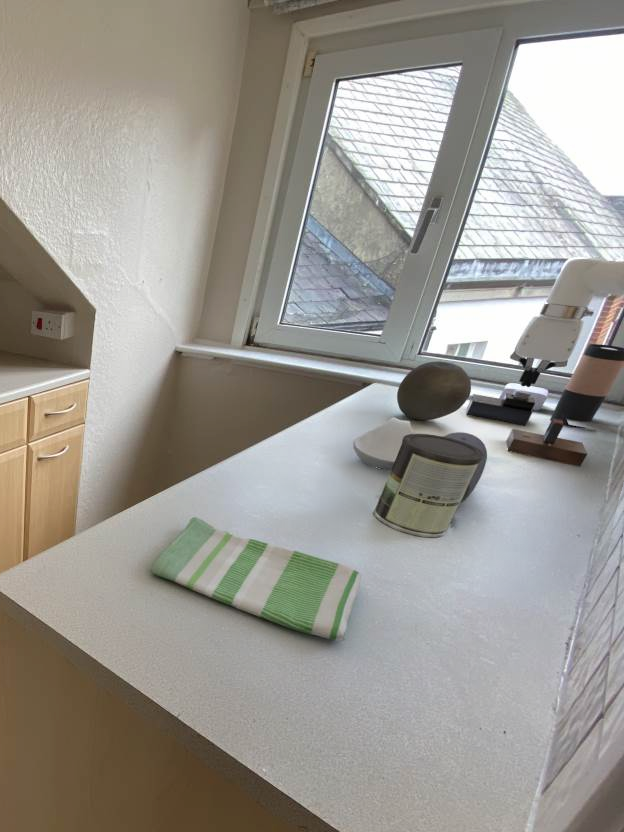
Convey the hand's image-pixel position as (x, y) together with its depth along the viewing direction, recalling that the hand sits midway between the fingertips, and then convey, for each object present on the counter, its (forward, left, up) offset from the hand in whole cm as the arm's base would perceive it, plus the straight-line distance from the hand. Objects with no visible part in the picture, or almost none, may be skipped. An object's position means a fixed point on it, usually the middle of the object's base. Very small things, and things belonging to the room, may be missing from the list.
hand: (525, 385), depth 141 cm
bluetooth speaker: (+12, +70, -10) cm, 72 cm away
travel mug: (-12, -8, -10) cm, 17 cm away
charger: (-3, -24, -9) cm, 26 cm away
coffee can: (+15, +87, -9) cm, 89 cm away
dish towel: (+30, +123, -9) cm, 127 cm away
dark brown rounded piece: (+18, +19, -10) cm, 28 cm away
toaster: (+3, 0, -9) cm, 10 cm away
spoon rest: (+22, +56, -9) cm, 61 cm away
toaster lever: (0, 0, -4) cm, 4 cm away
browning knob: (-5, +26, -6) cm, 27 cm away
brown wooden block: (-5, +26, -9) cm, 28 cm away
